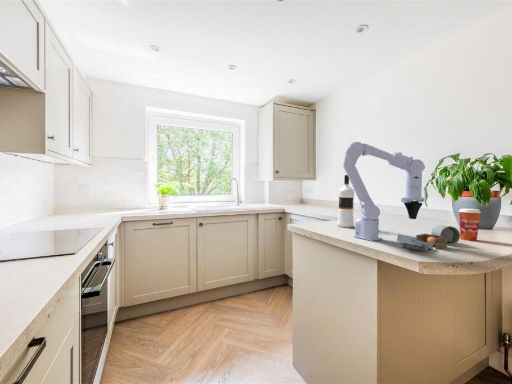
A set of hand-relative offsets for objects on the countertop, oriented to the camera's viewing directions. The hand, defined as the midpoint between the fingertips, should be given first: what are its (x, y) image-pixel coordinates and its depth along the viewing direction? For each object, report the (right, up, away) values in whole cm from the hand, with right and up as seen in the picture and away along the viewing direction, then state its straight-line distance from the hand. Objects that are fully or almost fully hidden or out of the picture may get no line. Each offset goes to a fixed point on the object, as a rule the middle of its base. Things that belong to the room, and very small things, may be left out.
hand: (412, 218), depth 106 cm
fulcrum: (-7, -10, -13) cm, 18 cm away
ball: (+4, -8, -7) cm, 11 cm away
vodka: (-16, -9, +36) cm, 40 cm away
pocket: (+3, -10, -7) cm, 13 cm away
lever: (-9, -9, -11) cm, 16 cm away
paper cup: (+29, -10, +6) cm, 31 cm away
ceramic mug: (+12, -10, -1) cm, 16 cm away
